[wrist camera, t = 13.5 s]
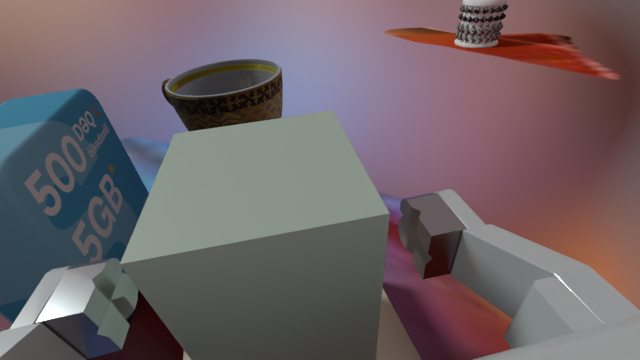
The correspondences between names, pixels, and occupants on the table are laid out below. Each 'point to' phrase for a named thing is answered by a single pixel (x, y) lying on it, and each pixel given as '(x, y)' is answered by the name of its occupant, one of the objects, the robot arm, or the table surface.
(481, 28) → the decorative candle
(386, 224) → the sage block
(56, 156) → the blue rounded box
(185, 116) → the ceramic cup
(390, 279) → the table surface
